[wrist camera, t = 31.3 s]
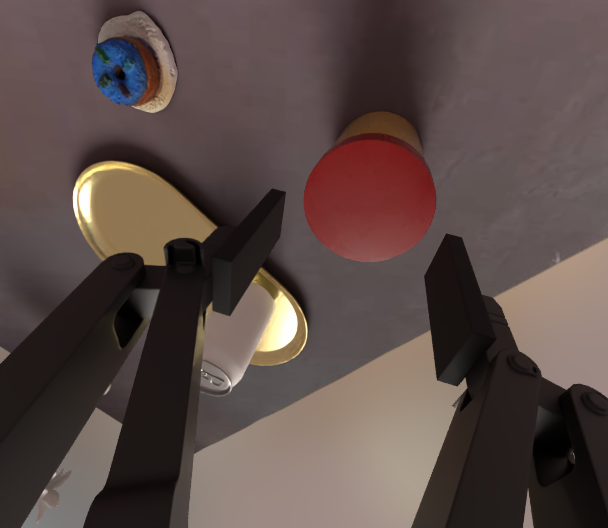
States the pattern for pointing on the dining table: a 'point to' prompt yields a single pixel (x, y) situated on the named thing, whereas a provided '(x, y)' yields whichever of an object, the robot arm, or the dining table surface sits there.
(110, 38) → the dessert
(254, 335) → the can
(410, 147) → the jar lid
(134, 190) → the serving platter
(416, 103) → the dining table surface
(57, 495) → the flower vase
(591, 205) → the dining table surface
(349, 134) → the jar
